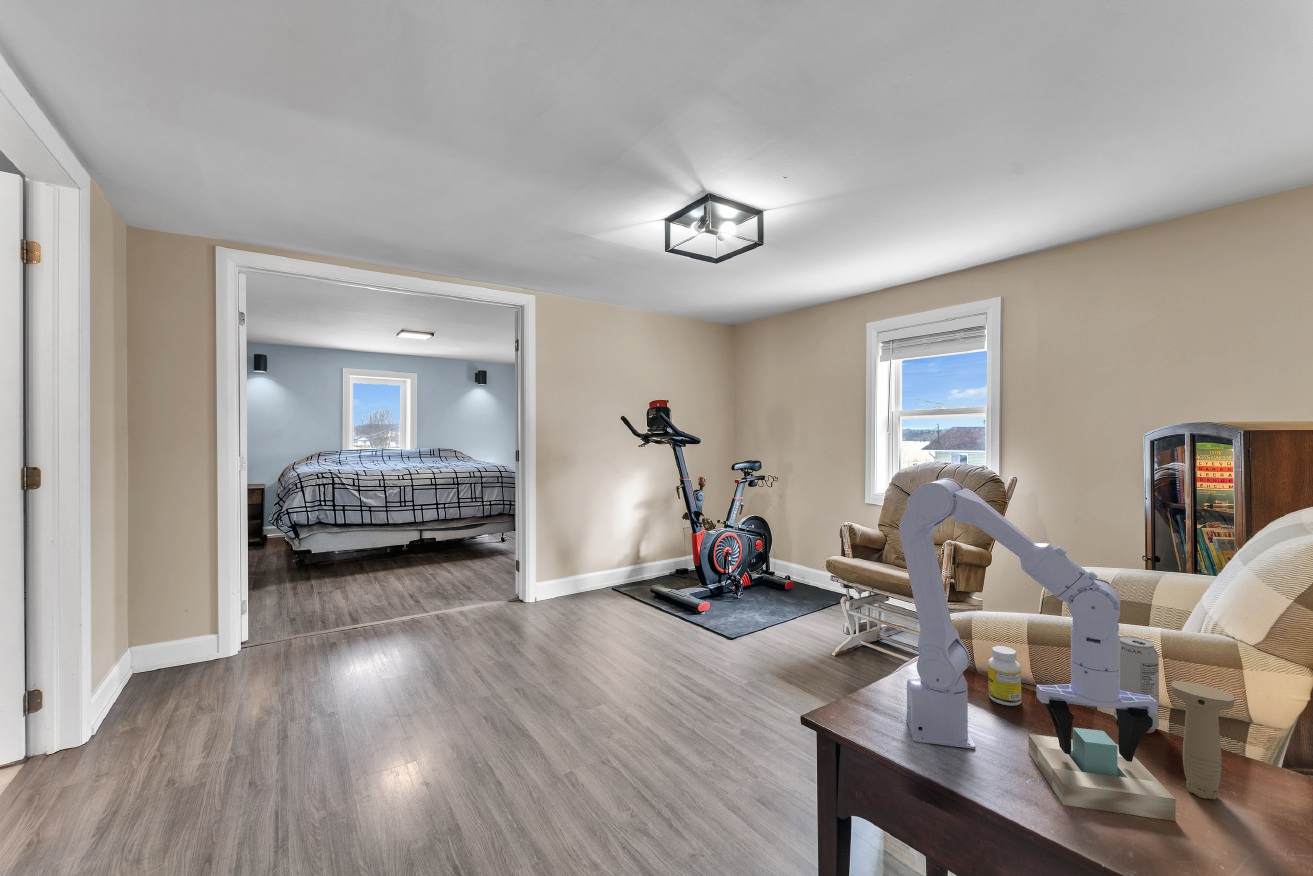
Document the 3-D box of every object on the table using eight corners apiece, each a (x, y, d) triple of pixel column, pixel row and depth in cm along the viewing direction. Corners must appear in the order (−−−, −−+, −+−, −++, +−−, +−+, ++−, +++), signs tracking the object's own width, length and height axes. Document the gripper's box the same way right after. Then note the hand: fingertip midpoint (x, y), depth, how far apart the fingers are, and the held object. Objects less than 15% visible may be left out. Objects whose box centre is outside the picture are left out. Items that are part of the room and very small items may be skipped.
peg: (1085, 789, 81) (1085, 741, 81) (1072, 772, 85) (1072, 727, 85) (1117, 793, 80) (1117, 745, 80) (1103, 776, 84) (1103, 731, 84)
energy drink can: (1128, 714, 102) (1128, 633, 101) (1167, 731, 96) (1167, 645, 96) (1105, 720, 100) (1105, 637, 100) (1143, 737, 94) (1143, 650, 94)
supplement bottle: (989, 690, 112) (989, 642, 111) (1022, 697, 108) (1021, 648, 108) (987, 701, 107) (986, 651, 107) (1020, 709, 104) (1020, 657, 104)
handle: (1233, 813, 76) (1234, 704, 76) (1170, 791, 81) (1170, 688, 80) (1234, 796, 79) (1234, 692, 79) (1172, 776, 84) (1172, 678, 84)
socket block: (1063, 804, 78) (1063, 783, 78) (1028, 752, 91) (1028, 734, 91) (1175, 821, 75) (1175, 799, 75) (1123, 764, 87) (1123, 745, 87)
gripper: (1138, 657, 84) (1138, 745, 84) (1028, 648, 88) (1029, 733, 88) (1166, 677, 77) (1166, 773, 78) (1046, 667, 81) (1047, 758, 82)
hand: (1094, 754), depth 83 cm, fingers open, 7 cm apart
